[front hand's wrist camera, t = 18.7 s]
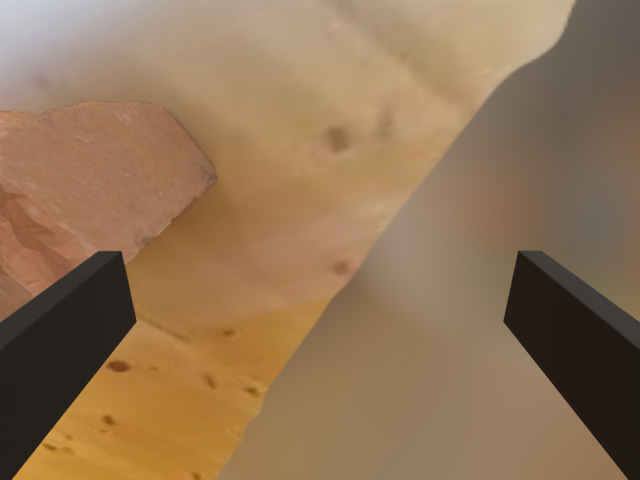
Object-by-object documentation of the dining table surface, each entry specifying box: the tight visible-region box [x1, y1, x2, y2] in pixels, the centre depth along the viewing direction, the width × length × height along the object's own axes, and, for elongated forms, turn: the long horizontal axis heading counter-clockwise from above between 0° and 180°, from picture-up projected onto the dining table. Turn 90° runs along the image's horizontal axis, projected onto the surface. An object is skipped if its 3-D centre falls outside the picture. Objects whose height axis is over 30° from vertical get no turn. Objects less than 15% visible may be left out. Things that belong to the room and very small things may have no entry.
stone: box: [0, 101, 217, 322], centre depth 33 cm, size 22×11×28 cm, turn 125°
